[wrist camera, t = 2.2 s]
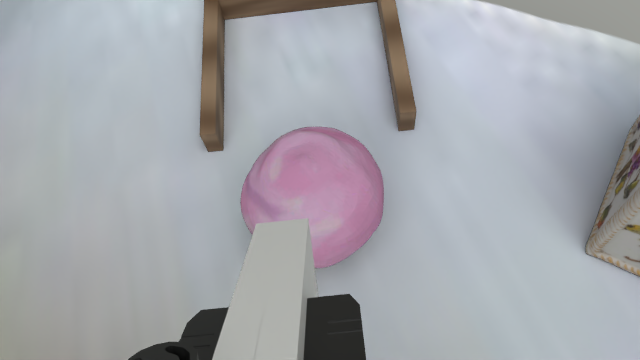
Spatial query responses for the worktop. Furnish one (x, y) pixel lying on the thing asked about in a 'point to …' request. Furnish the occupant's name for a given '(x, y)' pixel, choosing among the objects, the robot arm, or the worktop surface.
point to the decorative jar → (621, 211)
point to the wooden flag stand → (239, 3)
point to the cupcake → (317, 190)
